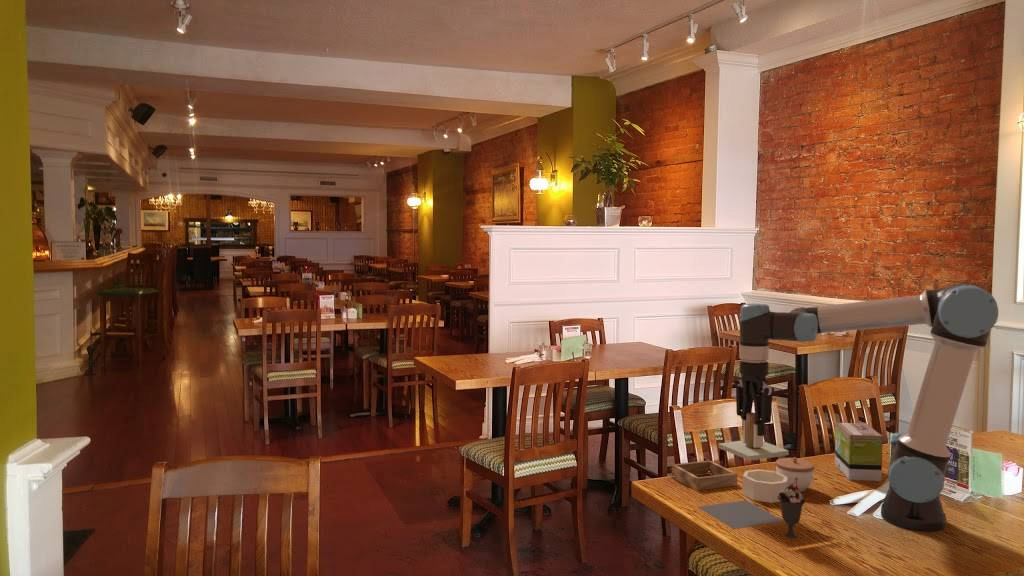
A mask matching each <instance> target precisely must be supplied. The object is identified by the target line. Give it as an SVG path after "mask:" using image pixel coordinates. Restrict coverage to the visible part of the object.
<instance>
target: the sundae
mask: <svg viewBox="0 0 1024 576" xmlns="http://www.w3.org/2000/svg"><path fill="white" fill-rule="evenodd" d="M797 479H798V478H795V481H796V486H797ZM794 483H795V482H794ZM794 483H793V484H794ZM793 484H792V485H791V484H790V485H789V486H788V487H787V488H785V490H784V491H783V492H781V493H779V496H778V499H779V500H780V502H779V503H780V507H781V508H780V509H781V516H782V520H784V522H785V523H786V524H787V525H788V526H787V527H788V528H787V529H788V530H787V532H786V533H784V537H786V538H788V539H797V537H798V536H797V535H796V534H795V533H794V526H795V525H796V524H798V523H799V521H800V520H801V516H802V511H803V505H804V504H805V503H806V501H807V499H806V498H804V497H803V494H802V493H801V492H799V491H798V490H799V488H798V487H794V486H793Z"/></svg>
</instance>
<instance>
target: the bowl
mask: <svg viewBox="0 0 1024 576" xmlns="http://www.w3.org/2000/svg"><path fill="white" fill-rule="evenodd" d="M787 487H788V477H787V476H785V475H783V474H780V473H778V472H776V470H775V471H774V470H767V469H758V468H757V469H750V470H745V471H744V473H743V475H742V495H743V496H745V497H747V498H749V499H750V500H752V501H758V502H764V503H769V504H773V503H781V502H780V500H779V499H778V496H779V493H781V492H783V491H784V490H785V488H787Z"/></svg>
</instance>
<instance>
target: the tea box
mask: <svg viewBox="0 0 1024 576" xmlns="http://www.w3.org/2000/svg"><path fill="white" fill-rule="evenodd" d="M883 437H884V436H883V435H882V434H881V433H880V432H878V431H877V430H875V429H874V428H873V427H872V426H870V425H869V424H868V423H865V422H864V423H862V422H861V423H859V422H857V423H856V422H835V437H834V439H835V446H834V450H835V451H834V465H835V466H836V467H837V469H839V471H840V472H841V473H842V474H843V475H844V476H845V477H846V478H847V480H849V481H861V480H862V481H865V482H881V481H882V476H883V475H882V474H883V447H884V446H883V443H884V441H883Z"/></svg>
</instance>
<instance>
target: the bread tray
mask: <svg viewBox="0 0 1024 576" xmlns="http://www.w3.org/2000/svg"><path fill="white" fill-rule="evenodd" d="M708 471H710V472H709V473H711V474H712V475H713V476H712V475H707V476H698V475H697V474H704V475H706V474H705V473H708ZM695 475H696V476H695ZM672 476H675V477H672ZM671 479H673V480H676V481H677V482H679V483H681V484H683V485H685V486H686V487H688V488H689V489H694V490H696V491H702V490H703V491H704V490H709V489H717V488H725V487H726V488H727V487H731V486H737V485H738V473H736V472H734V471H732V470H730V469H728V468H726V467H725V466H722V465H720V464H718V463H716V462H715V461H712V460H701V461H694V462H693V461H691V462H684V463H673V464H671Z"/></svg>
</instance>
